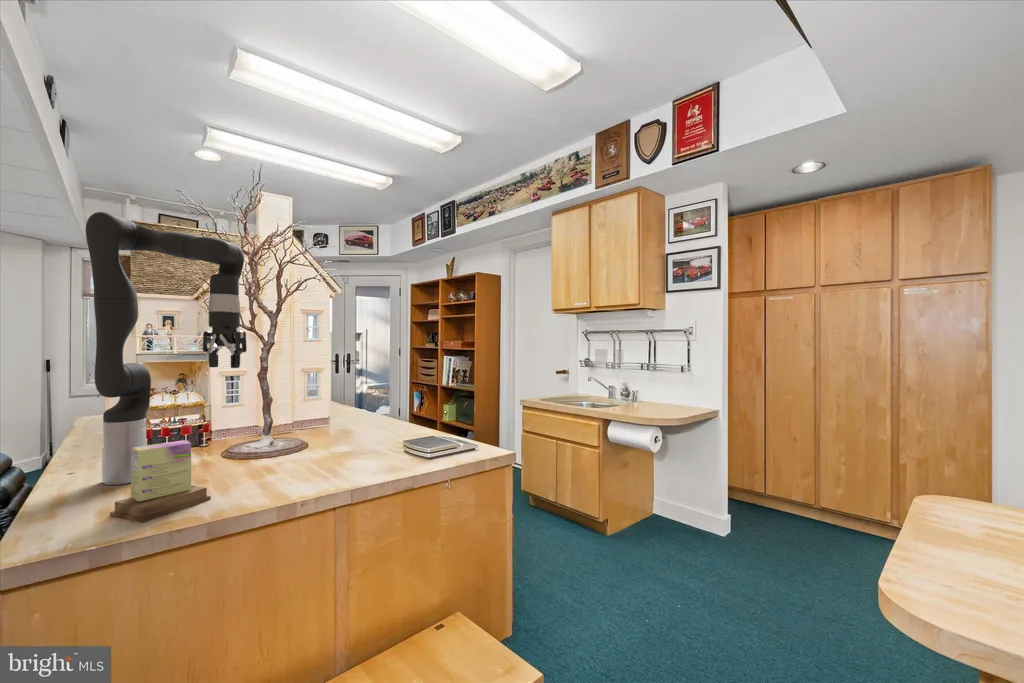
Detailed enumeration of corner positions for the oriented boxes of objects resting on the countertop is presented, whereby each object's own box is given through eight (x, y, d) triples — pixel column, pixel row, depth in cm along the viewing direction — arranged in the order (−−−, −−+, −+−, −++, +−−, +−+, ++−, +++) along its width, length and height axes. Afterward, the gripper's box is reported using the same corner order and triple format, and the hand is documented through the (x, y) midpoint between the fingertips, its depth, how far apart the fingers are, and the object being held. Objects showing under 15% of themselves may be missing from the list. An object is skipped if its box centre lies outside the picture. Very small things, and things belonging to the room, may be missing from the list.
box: (183, 486, 112) (183, 439, 112) (191, 490, 108) (191, 442, 108) (130, 497, 103) (130, 447, 103) (137, 503, 100) (137, 450, 100)
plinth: (110, 515, 100) (110, 502, 100) (180, 494, 115) (180, 482, 115) (142, 522, 97) (142, 508, 97) (210, 499, 111) (210, 487, 111)
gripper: (193, 310, 125) (193, 367, 125) (230, 309, 121) (230, 368, 121) (219, 312, 132) (219, 366, 132) (254, 311, 128) (254, 367, 128)
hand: (224, 367), depth 127 cm, fingers open, 8 cm apart
